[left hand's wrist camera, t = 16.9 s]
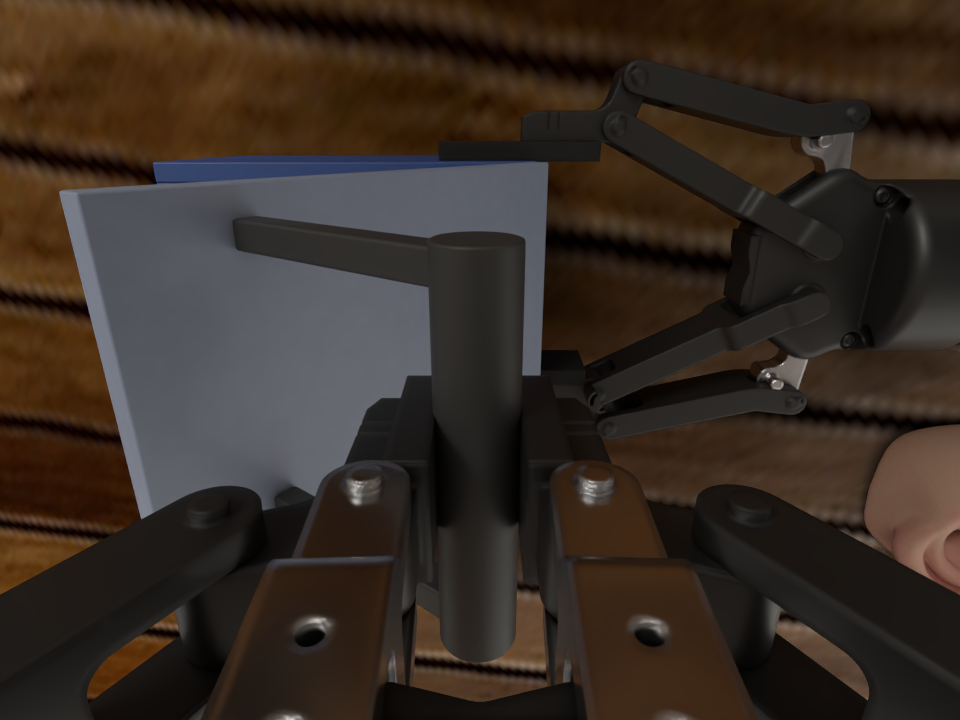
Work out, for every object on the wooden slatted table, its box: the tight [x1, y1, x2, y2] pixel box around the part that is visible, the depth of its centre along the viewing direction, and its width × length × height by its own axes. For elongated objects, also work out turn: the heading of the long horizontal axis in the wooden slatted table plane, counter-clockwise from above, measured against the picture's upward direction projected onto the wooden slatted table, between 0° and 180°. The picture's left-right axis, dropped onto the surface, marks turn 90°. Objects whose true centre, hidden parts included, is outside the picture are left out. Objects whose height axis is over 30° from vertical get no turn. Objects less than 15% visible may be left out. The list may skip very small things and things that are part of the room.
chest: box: [153, 155, 537, 185], centre depth 29 cm, size 15×9×9 cm, turn 90°
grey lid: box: [60, 162, 548, 663], centre depth 16 cm, size 16×9×8 cm
